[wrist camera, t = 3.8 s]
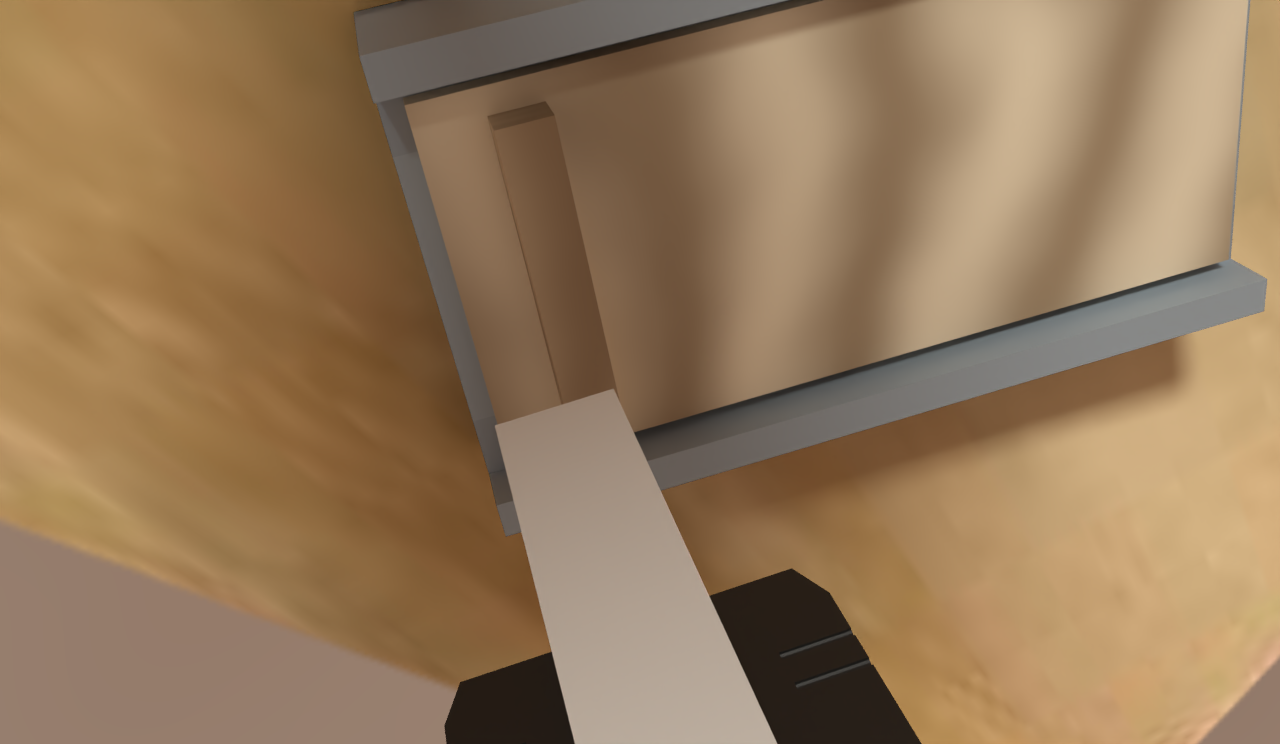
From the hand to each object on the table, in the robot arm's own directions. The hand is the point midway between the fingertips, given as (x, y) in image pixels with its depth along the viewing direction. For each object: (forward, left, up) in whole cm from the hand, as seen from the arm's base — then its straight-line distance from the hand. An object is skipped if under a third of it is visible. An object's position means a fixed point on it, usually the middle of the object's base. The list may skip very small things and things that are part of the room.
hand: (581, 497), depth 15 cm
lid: (+11, -5, -19) cm, 23 cm away
